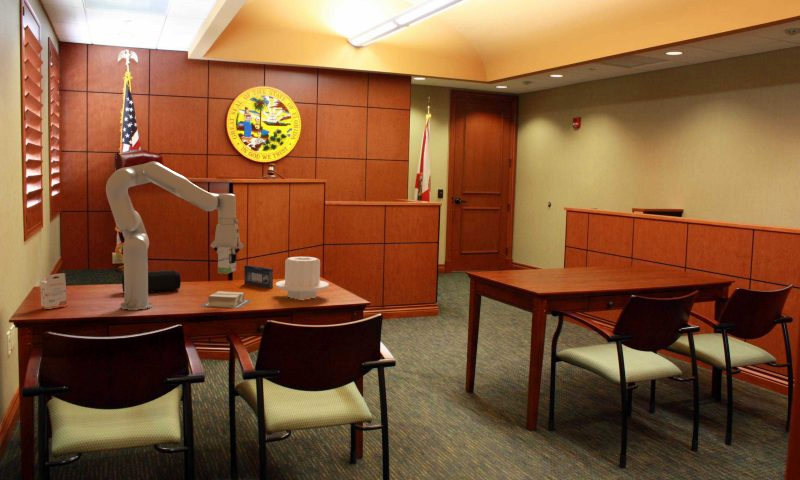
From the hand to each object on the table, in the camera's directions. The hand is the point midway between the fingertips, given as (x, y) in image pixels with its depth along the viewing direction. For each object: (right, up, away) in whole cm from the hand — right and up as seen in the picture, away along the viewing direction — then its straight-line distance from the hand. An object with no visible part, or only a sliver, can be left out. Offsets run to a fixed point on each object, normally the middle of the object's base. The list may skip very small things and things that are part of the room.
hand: (227, 262), depth 299 cm
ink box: (0, -5, +1) cm, 5 cm away
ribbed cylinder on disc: (+30, -18, +24) cm, 42 cm away
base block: (-1, -18, +2) cm, 18 cm away
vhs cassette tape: (+3, -14, +50) cm, 52 cm away
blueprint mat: (-1, -19, +2) cm, 19 cm away
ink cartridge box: (-70, -19, -13) cm, 74 cm away
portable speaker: (-43, -15, +26) cm, 53 cm away
